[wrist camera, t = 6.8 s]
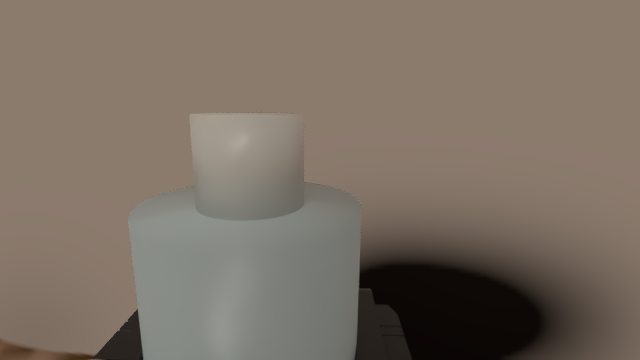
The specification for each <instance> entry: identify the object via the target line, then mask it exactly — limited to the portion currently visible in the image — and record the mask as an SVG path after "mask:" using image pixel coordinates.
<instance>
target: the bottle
mask: <svg viewBox="0 0 640 360" xmlns="http://www.w3.org/2000/svg"><path fill="white" fill-rule="evenodd" d="M189 116H190V131H191V144H192V145H191V146H192V160H193V175H194V186H191V187H186V188H181V189H177V190H173V191H169V192H166V193H163V194H160V195H157V196H155V197H152V198H150V199H148V200H146V201H143V202H142V203H140V204H139V205H137V206H136V207H135V208H134V209H132V210H131V212H130V214H129V215H128V226H129V235H130V243H131V253H132V261H133V270H134V279H135V288H136V296H137V306H138V315H139V324H140V333H141V342H142V351H143V360H355V355H356V345H357V321H358V292H359V262H360V233H361V204H360V202H359V201H358V200H357V199H356V198H355V197H354V196H352V195H350V194H349V193H347V192H345V191H342V190H339V189H336V188H333V187H329V186H325V185H320V184H314V183H308V182H304V115H303V114H295V113H263V112H251V113H250V112H241V113H239V112H232V113H230V112H228V113H198V114H190V115H189Z"/></svg>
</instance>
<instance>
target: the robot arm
mask: <svg viewBox="0 0 640 360" xmlns="http://www.w3.org/2000/svg"><path fill="white" fill-rule="evenodd" d="M90 360H143V351H142V342H141V333H140V324H139V315H138V309H137V310H136V312H134V314H133V315H132V316H131V317H130V318H129V319H128V322H125V324H124V325H123V326H122V327H121V328H120V331H117V332H116V333H115V335H114V336H113V337H112V338H111V339H110V340H109V341H108V342H107V343H106V344H105V346H104V347H103V348H102V349H101V350H100V351H99V352H98V353H97V354H96V356H95V357H94V358H93V359H90ZM355 360H412V358H411V355H410V352H409V349H408V346H407V343H406V339H405V338H404V333H403V331H402V328H401V324H400V321H399V318H398V315H397V314H396V313H395V312H394V311H393V310H392V309H391V308H390V307H389V306H388V305H375V304H374V300H373V295H372V291H371V289H359V292H358V321H357V345H356V355H355Z"/></svg>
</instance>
